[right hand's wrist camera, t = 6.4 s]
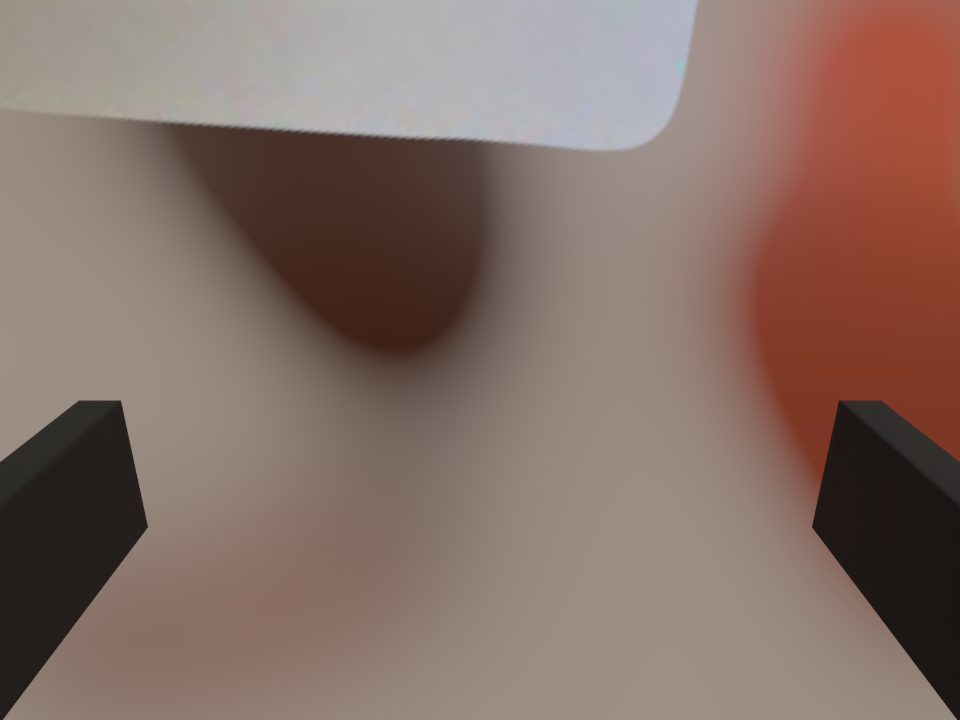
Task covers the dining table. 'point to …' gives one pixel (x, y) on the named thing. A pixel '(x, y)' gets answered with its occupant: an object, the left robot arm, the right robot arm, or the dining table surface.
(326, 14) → the dining table surface
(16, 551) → the right robot arm
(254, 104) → the dining table surface
